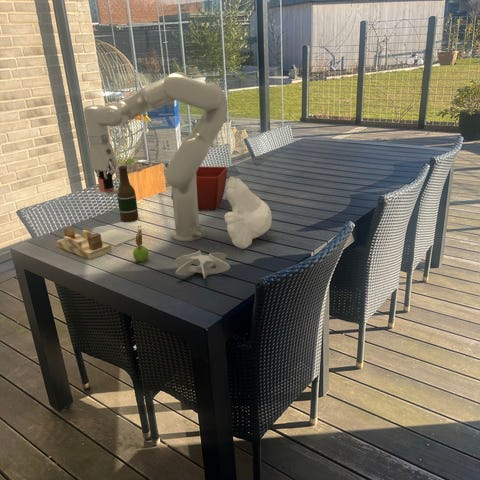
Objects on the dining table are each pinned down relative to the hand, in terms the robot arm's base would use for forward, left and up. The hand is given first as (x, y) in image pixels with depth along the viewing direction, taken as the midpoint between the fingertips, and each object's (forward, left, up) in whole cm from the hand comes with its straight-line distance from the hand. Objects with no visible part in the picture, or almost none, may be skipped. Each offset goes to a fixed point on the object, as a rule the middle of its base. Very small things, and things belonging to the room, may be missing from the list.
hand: (106, 187), depth 184 cm
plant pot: (-3, -50, -21) cm, 54 cm away
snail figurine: (-27, +8, -21) cm, 35 cm away
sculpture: (-52, +3, -21) cm, 56 cm away
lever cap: (0, 0, -2) cm, 2 cm away
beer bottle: (+13, -18, -21) cm, 31 cm away
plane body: (0, +14, -21) cm, 25 cm away
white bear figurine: (-46, -26, -21) cm, 57 cm away
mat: (0, 0, -21) cm, 21 cm away
